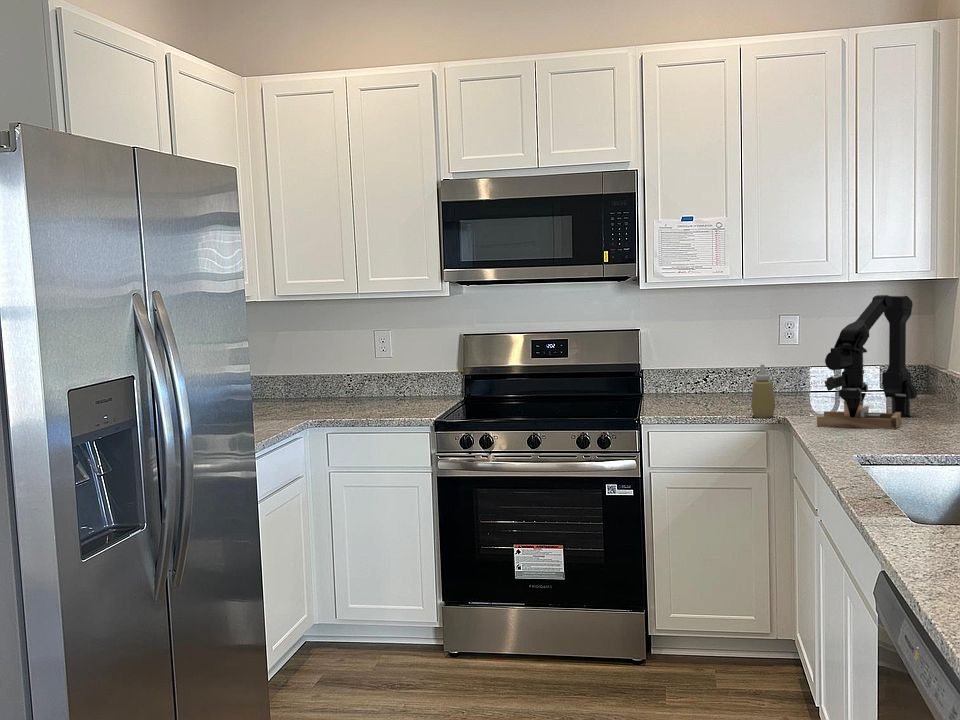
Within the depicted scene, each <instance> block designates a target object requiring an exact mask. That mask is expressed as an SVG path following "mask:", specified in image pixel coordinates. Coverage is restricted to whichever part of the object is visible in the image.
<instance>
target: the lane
mask: <svg viewBox="0 0 960 720" xmlns="http://www.w3.org/2000/svg"><path fill="white" fill-rule="evenodd" d="M869 414H881V418H854V417H844V411H827V410H825V411H823V416H818V415H817V416H816V427H819V426H839V427H838V428H846V427H861V428H860V429H874V428H895V429H894V430H897V429H898V428H899V427H900V425H901V424H902V417H901V412H895V413H892V412H869ZM900 423H901V424H900ZM899 424H900V425H899ZM897 427H898V428H897ZM896 428H897V429H896Z"/></svg>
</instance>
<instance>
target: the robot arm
mask: <svg viewBox="0 0 960 720" xmlns="http://www.w3.org/2000/svg"><path fill="white" fill-rule="evenodd" d="M913 306H914V305H913V300H912V299H911V298H910V297H909V295H888V294H881V295H880V294H878V295H874V296H873V297H872V299H871V302H870V303H869V304H868V306H867V307H866V308H864V310H863V312H862V313H861V314H860V315H859V316H858V318H857V319H856V320H855V321H853V322H851V323H848V324H847V325H846V326H844V328H842V330H841V331H840V333H839V335H838V338H837V340H836V342H835V344H834V347H832V348H831V347H830V352H828V353H827V355H826V356H825V359H824V364H825V365H826V368H827V369H829V370H830V371H839V370H843V371H842V372H841V375H839V376H836V377H834V376H833V375H831V376H829V377H827V378H826V380H825V381H824V386H825V387H826V390H827V391H828V392H830V391H833V389H837V388H840V387H841V389H839V390H838V398H840V399H842V400H843V401H846V403H847V406H848V410H849V414H850V417H854V418H855V415H856V412H857V410H858V407H859V404H860V402H861V401H863V402H864V400H865V397H866V395H867V393H868V391H869V385H868V384H867V383H866V382H864V374H865V370H864V353H865V354H866V353H867V352H868V350H867V349H866V348H865V347H864V346H865V345H866V343H867V342H868V339H869V338H870V330H871V329H872V328H873V326H874V325H875V324H876V323H877V321H878V320H879V319H880V318H881V316H882V315H883V316H884V317H885V319H886V320H887V322H888V324H889V327H888V329H889V333H888V349H889V350H888V367H887V369H886V371H883V372H882V376H881V377H882V381H881V385H882V388H883V394H884V397H885V398H891V403H890V404H891V406H890V407H891V411H890V412H891V413H895V412H901V418H912V416H913V413H912V412H911V399H912V400H913V399H916V398H917V397H918V390H917V388H916V387H915V385H914V384H913V383H912V375H911V374H910V372H909V370H908V369H907V367H906V361H907V360H906V357H907V355H906V353H907V352H906V347H907V344H906V343H907V342H906V341H907V337H906V336H907V333H906V332H907V327H906V326H907V322H908V320H909V319H910V318H911V316H912V313H913V312H912V310H913ZM862 391H863V392H862Z"/></svg>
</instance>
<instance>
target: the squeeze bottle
mask: <svg viewBox="0 0 960 720" xmlns="http://www.w3.org/2000/svg"><path fill="white" fill-rule="evenodd" d="M770 380H771V376H770V374H767V371H766V367H765V364H760V368H759V372H758V374H757V375H755V381H754V382H753V383H752V391H751V405H750V407H751V410H752V413H753V416H754V417H755V418H756V419H757V418H759V419H769V418H772V417H773V416H774V414H775V413H774V412H775V409H776V400H775V391H774V384H773V382H772V381H770Z"/></svg>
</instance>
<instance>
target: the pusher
mask: <svg viewBox="0 0 960 720" xmlns="http://www.w3.org/2000/svg"><path fill="white" fill-rule="evenodd" d="M869 410H870V408H869V405H865V406H863V409H861V418H881V414H869V413H870V412H869Z"/></svg>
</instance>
